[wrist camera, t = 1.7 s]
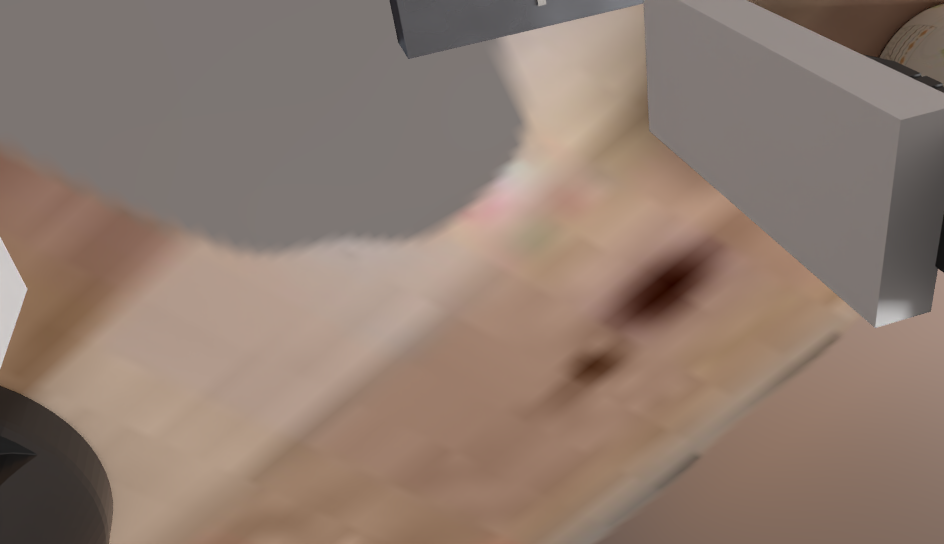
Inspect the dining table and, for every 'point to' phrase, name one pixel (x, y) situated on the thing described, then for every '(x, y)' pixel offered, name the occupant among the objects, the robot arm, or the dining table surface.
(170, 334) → the dining table surface
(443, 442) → the dining table surface
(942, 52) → the mug
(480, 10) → the console
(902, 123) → the robot arm
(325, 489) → the dining table surface
